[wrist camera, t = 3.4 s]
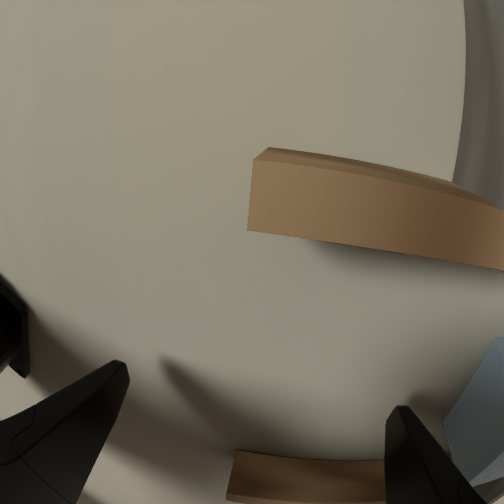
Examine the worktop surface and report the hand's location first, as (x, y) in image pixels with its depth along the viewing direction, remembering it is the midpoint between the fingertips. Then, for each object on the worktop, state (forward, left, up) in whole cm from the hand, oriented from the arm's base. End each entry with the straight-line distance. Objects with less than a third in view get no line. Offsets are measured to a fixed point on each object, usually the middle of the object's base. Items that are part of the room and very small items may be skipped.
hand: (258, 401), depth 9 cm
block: (+5, -10, -2) cm, 11 cm away
